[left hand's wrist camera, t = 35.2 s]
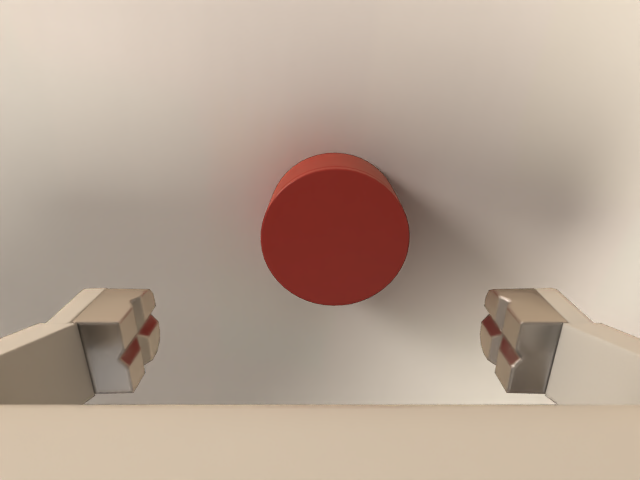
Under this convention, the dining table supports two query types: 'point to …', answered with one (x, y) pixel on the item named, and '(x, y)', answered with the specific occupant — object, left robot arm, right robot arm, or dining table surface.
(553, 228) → the dining table surface
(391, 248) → the cap
